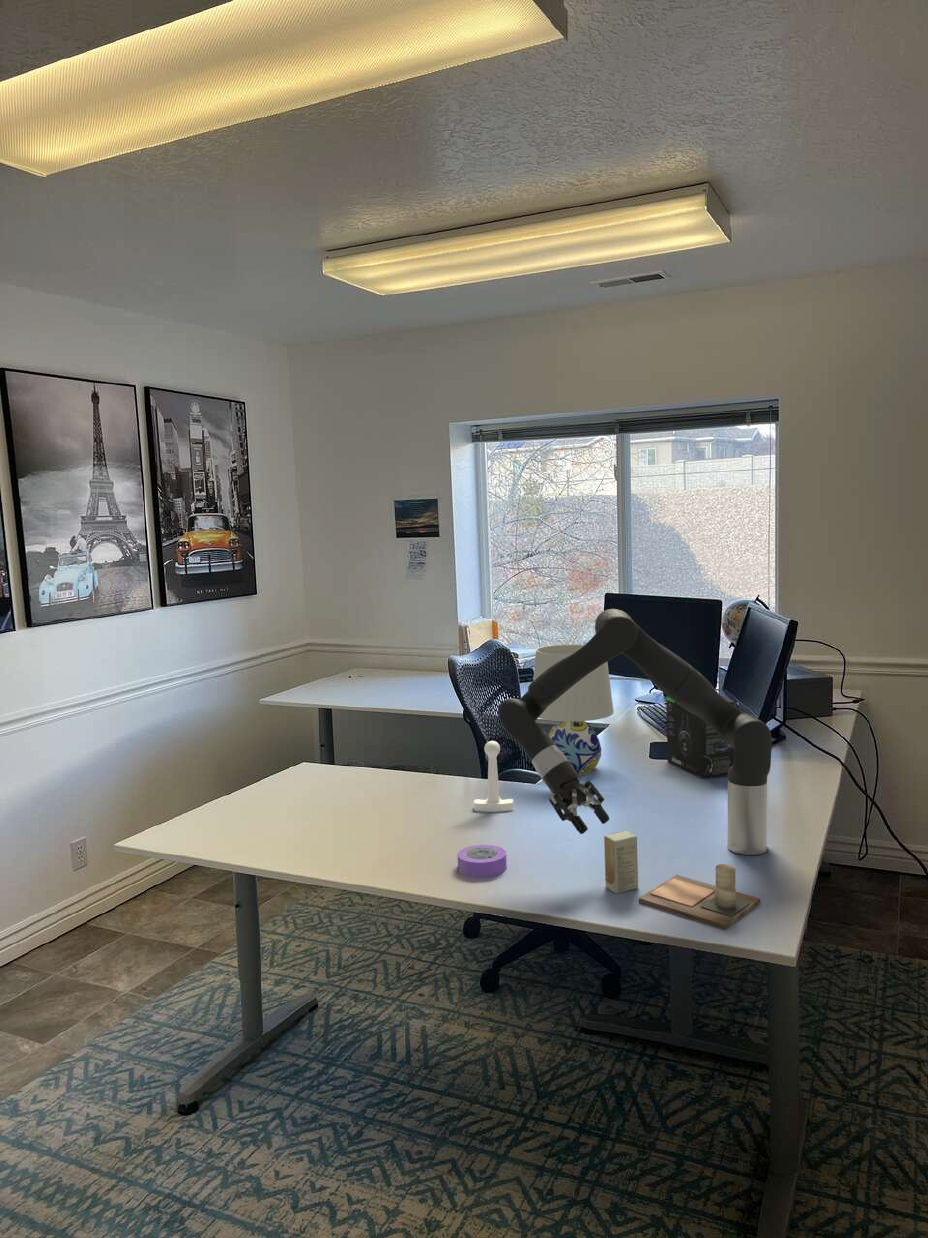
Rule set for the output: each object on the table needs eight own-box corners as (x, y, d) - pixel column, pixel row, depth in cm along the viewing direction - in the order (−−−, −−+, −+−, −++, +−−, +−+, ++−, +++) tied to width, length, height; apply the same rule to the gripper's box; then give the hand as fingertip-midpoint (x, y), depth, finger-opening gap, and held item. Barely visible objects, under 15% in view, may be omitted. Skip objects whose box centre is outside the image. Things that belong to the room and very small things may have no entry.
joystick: (474, 812, 252) (472, 743, 250) (475, 803, 260) (473, 736, 257) (513, 811, 251) (511, 742, 249) (513, 803, 259) (511, 736, 257)
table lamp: (612, 782, 275) (611, 655, 271) (526, 780, 281) (523, 655, 276) (615, 759, 302) (614, 643, 297) (536, 757, 307) (534, 643, 303)
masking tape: (447, 869, 212) (447, 854, 211) (481, 855, 220) (481, 840, 220) (482, 882, 204) (482, 866, 203) (516, 867, 212) (516, 852, 211)
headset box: (665, 761, 297) (665, 686, 294) (696, 758, 301) (696, 683, 298) (702, 780, 276) (703, 698, 273) (736, 775, 279) (736, 695, 276)
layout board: (676, 879, 202) (676, 839, 201) (760, 903, 188) (761, 861, 187) (638, 902, 190) (638, 860, 189) (725, 930, 177) (725, 885, 175)
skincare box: (628, 881, 201) (627, 829, 200) (639, 888, 197) (638, 835, 196) (603, 887, 199) (603, 834, 197) (614, 894, 195) (613, 840, 193)
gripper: (544, 766, 200) (587, 826, 194) (581, 753, 211) (623, 809, 204) (527, 785, 205) (567, 844, 198) (564, 771, 215) (604, 827, 208)
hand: (595, 826), depth 201 cm, fingers open, 8 cm apart
